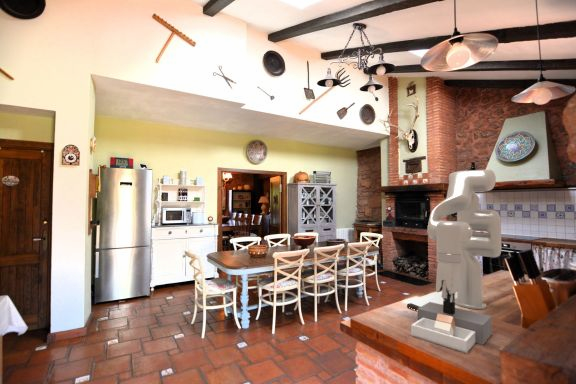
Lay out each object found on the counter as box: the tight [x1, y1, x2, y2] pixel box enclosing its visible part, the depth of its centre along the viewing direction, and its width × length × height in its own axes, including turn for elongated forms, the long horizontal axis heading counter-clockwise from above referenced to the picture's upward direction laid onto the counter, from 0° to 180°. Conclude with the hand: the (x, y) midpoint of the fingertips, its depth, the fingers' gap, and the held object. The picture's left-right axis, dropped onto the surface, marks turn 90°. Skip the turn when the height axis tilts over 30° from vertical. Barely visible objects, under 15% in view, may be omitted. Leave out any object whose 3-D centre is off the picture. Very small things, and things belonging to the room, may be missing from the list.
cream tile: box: [434, 320, 454, 336], centre depth 95 cm, size 4×4×2 cm
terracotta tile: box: [436, 313, 455, 331], centre depth 96 cm, size 4×4×2 cm
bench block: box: [417, 301, 493, 346], centre depth 103 cm, size 12×20×6 cm, turn 45°
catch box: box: [410, 318, 477, 354], centre depth 95 cm, size 10×16×4 cm, turn 45°
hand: (449, 313), depth 100 cm, fingers closed
